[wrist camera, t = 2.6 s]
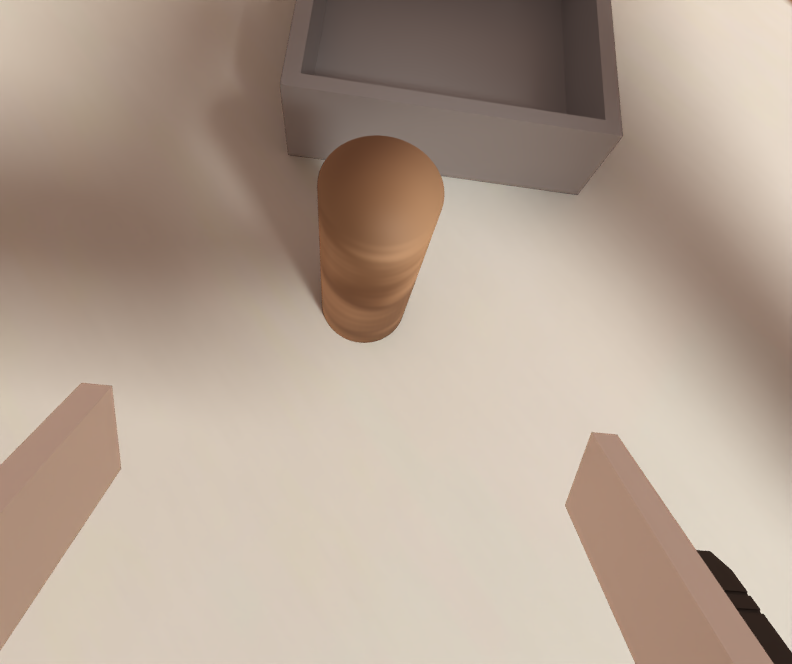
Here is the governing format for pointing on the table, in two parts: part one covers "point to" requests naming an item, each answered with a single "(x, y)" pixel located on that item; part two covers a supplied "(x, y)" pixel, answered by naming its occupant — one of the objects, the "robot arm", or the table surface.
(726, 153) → the table surface
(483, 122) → the tote
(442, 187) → the walnut cylinder
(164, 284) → the table surface
